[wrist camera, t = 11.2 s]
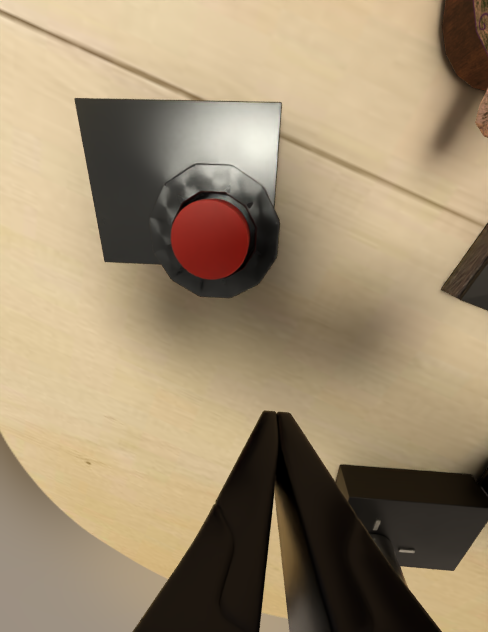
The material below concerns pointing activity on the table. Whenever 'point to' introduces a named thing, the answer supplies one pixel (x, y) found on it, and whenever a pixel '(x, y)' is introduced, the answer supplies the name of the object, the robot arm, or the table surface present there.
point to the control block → (181, 178)
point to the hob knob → (388, 553)
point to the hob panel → (418, 512)
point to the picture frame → (472, 274)
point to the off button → (210, 238)
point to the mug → (469, 47)
